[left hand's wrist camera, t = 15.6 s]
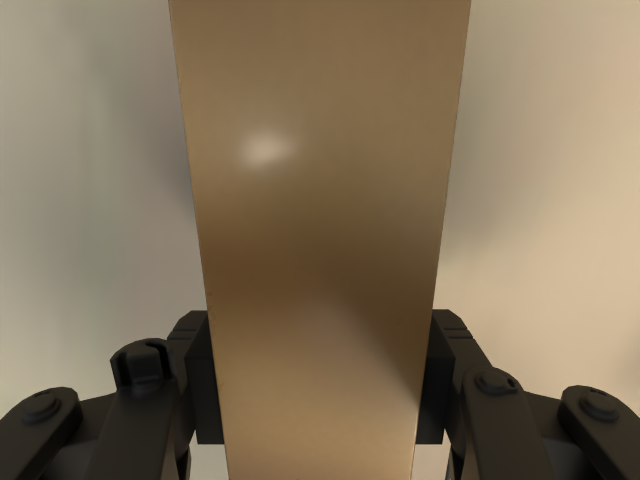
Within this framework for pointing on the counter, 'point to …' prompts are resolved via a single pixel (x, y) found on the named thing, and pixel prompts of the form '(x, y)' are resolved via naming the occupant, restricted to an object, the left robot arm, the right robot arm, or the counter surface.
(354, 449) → the beam
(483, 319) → the counter surface
